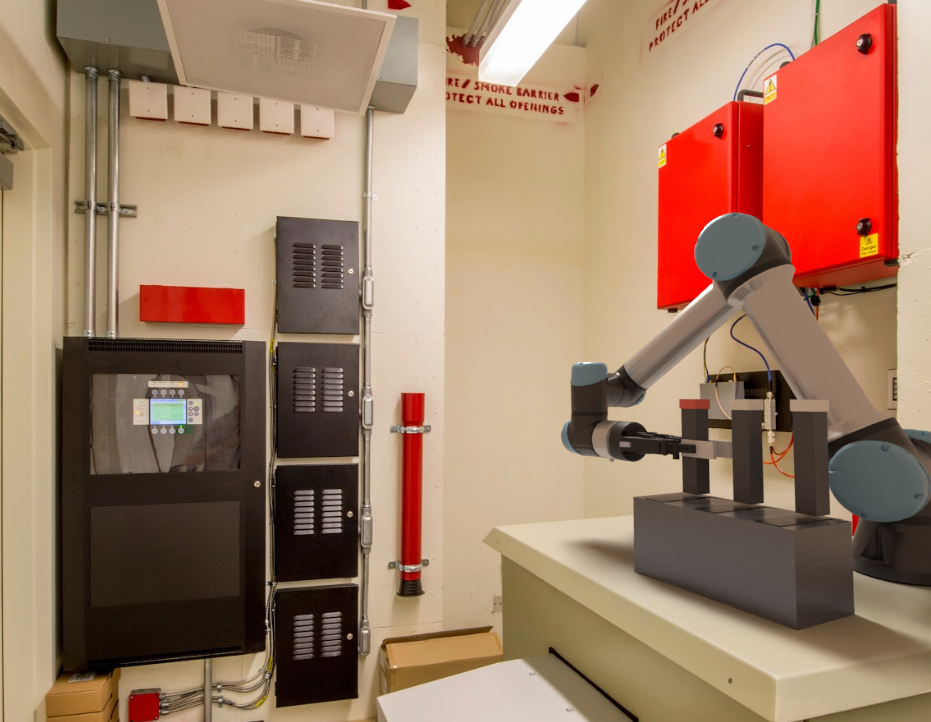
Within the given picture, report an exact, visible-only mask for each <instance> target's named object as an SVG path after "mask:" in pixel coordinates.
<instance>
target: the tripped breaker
mask: <svg viewBox="0 0 931 722" xmlns="http://www.w3.org/2000/svg"><path fill="white" fill-rule="evenodd" d="M678 401H679V402H678V405H679V409H680V411H681V413H680V418H681V419H680V420H681V437H682V439H685V440H698V441H709V439H710V436H709V435H710V434H709V432H710V430H709V425H710V424H709V409H711V399H709V398H705V399H704V398H679V399H678ZM681 465H682V467H681V468H682V469H681V471H682V472H681V473H682V477H681V478H682V480H681V481H682V492H684V493H689V494H695V495H701V494H704V495H709V494H711V489H710V488H711V483H710V481H711V480H710V478H711V477H710V476H711V475H710V459H705V458H696V457H687V456H681Z"/></svg>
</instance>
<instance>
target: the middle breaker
mask: <svg viewBox="0 0 931 722" xmlns="http://www.w3.org/2000/svg"><path fill="white" fill-rule="evenodd" d="M728 402H729V403H728V407H729V408H728V410H730V413H731V414H730V415H731V417H730V418H731V441H732V458H731V459H732V491H733V493H732V497H733V499H732V500H733V502H738V503H744V504H749V505H753V504H760V505H762V504H765V493H764V491H765V489H764V487H765V486H764V455H763V453H764V452H763V451H764V450H763V447H764V446H763V415H762V414H763V413H762V411H764V410H765V409H764V399H763V398H761V399H758V398H757V399H754V398H753V399H752V398H751V399H749V398H745V399H744V398H742V399H741V398H739V399H737V398H736V399H734V398H733V399H732V398H731V399H730V398H729V399H728Z"/></svg>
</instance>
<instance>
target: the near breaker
mask: <svg viewBox="0 0 931 722" xmlns="http://www.w3.org/2000/svg"><path fill="white" fill-rule="evenodd" d="M789 411H790V412H792V436H793V437H792V442H793V444H792V446H793V477H794V480H793V481H794V506H795V507H794V511H795V513H799V514H805V515H810V516H816V517H818V516H830V515H831V497H830V487H829V461H828V431H827V411H829V400H798V399H789Z"/></svg>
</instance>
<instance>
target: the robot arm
mask: <svg viewBox="0 0 931 722" xmlns="http://www.w3.org/2000/svg"><path fill="white" fill-rule="evenodd" d="M693 252H694V260H695V263H696V265H697V267H698V269H699V271H700V272H701V273H703V275H704V276H705V277H707V278H708V279H709V280H712V283H711V284H709V285H708V287H706V288H705V289H704V290H703V291H701V293H699V295H698V296H697V297H695V298H694V299H693V300H692V301H691V302H690V303H689V304H687V306H685V307H684V308H683V309H682V310H681V311H680V312H679V313H678V314H677V315H675V316H674V317H673V318H672V320H670V321H669V322H668V323H667V324H666V325H665V326H664V327H662V329H661V330H659V331H657V333H656V334H655V335H654V336H653V337H652V338H650V340H648V341H647V342H646V343H645V344H644V345H643V346H642V347H640V349H638V351H636V352H635V353H634V354H633V355H632V356H631V357H629V359H627V360H626V362H625V363H623V364H622V365H621V366H620V367H619V368H618V369H617V370H616V371H614V372H608V365H607V364H606V363H605V362H601V361H600V362H599V361H584V362H575V363H574V364H572V366H571V371H570V372H571V374H570V376H571V377H570V400H571V401H570V407H571V412H570V414H571V415H570V419H569V420H567V421H566V422H565V423H564V424H563V427H562V430H561V433H560V438H561V439H560V440H561V443H562V444H563V446H564V448H565V449H566V450H567V451H569V452H570V453H573V454H577V455H581V456H585V457H586V456H587V457H594V458H604V459H608V461H609V462H611V463H612V462H615V460H619V461H624V462H632V463H636V462H639V461H641V460H642V459H643V458H645V456H646V455H658V456H659V455H661V456H666V457H667V456H668V455H672V460H680V456H681V457H682V456H687V457H696V458H705V459H709V460H717V459H718V458H721V459H722V458H723V459H732V440H722V439H721V440H720V439H710V438H709V441H698V440H685V439H682V436H678V435H674V434H666V433H658V432H657V431H648V430H647V429H646V427H645V426H644V425H643V424H641V423H639V422H638V421H637V422H636V421H625V420H623V421H622V420H611V419H608V415H609V408H623V409H624V408H631V407H635V406H638V405H640V403H642V402H643V401H644V399H645V397H646V394H647V391H648V390H649V389H650V388H651V387H652V386H653V385H654V384H655V383H657V382H658V381H659V380H660V379H661V378H662V377H664V376H665V375H666V374H668V372H670V371H671V370H672V369H673V368H674V367H676V366H677V365H678V364H679V363H680V362H681V361H682V360H684V359H685V358H687V356H688V355H690V354H691V353H692V352H693V351H694V350H696V349H697V348H698V347H699V346H700V345H702V343H704V342H705V341H706V340H707V339H708V338H710V337H711V336H712V335H713V334H714V333H715V332H716V331H718V330H719V329H720V328H721V327H723V325H725V324H727V322H728V321H729V320H731V318H733V317H734V316H736V314H738V313H739V312H740V311H743V312H744V314H745V315H746V317H747V319H748V321H749V322H750V323H751V325H752V327H753V328H754V330H755V332H756V334H757V335H758V336H759V338H760V341H761V342H762V343H763V345H764V347H765V348H766V350H767V352H768V354H769V355H770V356H771V358H772V360H773V362H774V363H775V365H776V366H777V368H778V370H779V371H780V373H781V375H782V376H783V378H784V380H785V381H786V383H787V384H788V387H790V389H791V391H792V393H793V395H794V396H795V397H796V400H829V411H827V431H828V461H829V491H831V493H832V496H833V497H834V498H835V500H836V502H838V504H840V506H842V507H843V508H844V509H845V510H846V511H848V512H849V513H851V514H852V515H855V516H857V517H858V523H857V525H856V528H855V531H854V534H853V535H852V551H853V571H856V572H858V573H862V574H864V575H867V576H871V577H874V578H879V579H882V580H887V581H891V582H892V581H893V582H897V583H904V584H905V583H906V584H912V585H920V586H921V585H922V586H923V585H924V586H931V431H929V430H925V429H923V430H922V429H920V430H919V429H916V428H915V429H913V428H903V427H902V425H900V423H899V422H898V420H897V419H896V417H895V415H894V414H891V413H887V412H883V411H880V410H879V409H876V408H875V406H874V405H873V403H872V401H871V400H870V398H869V397H868V395H867V394H866V393H865V391H864V390H863V388H862V386H861V385H860V383H859V381H858V380H857V379H856V377H855V375H854V374H853V372H852V371H851V370H850V368H849V367H848V365H847V363H846V362H845V361H844V359H843V358H842V356H841V354H840V353H839V351H838V349H837V348H836V347H835V345H834V344H833V342H832V341H831V339H830V337H829V336H828V335H827V333H826V332H825V330H824V328H823V327H822V326H821V324H820V323H819V320H817V317H816V316H815V315H814V313H813V312H812V310H811V308H810V307H809V306H808V305H807V303H806V301H805V300H804V298H803V297H802V296H801V293H800V292H799V291H798V289H797V287H796V286H795V284H794V283H793V278H794V274H795V272H796V268H795V266H794V265H793V262H792V250H791V248H790V244H789V242H788V241H787V239H786V238H785V237H784V235H782V233H780V232H778V231H777V230H775V229H773V228H771V227H769V226H767V225H766V224H764V223H763V222H762V221H761V220H760V219H759V218H757V217H756V216H754V215H751V214H746V213H742V212H729V213H725V214H722V215H720V216H718V217H716V218H714V219H712V220H711V221H710V222H708V224H706V225H705V226H704V228H703V229H702V231H701V232H700V233H699V236H698V237H697V240H696V244H695V245H694V251H693Z"/></svg>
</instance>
